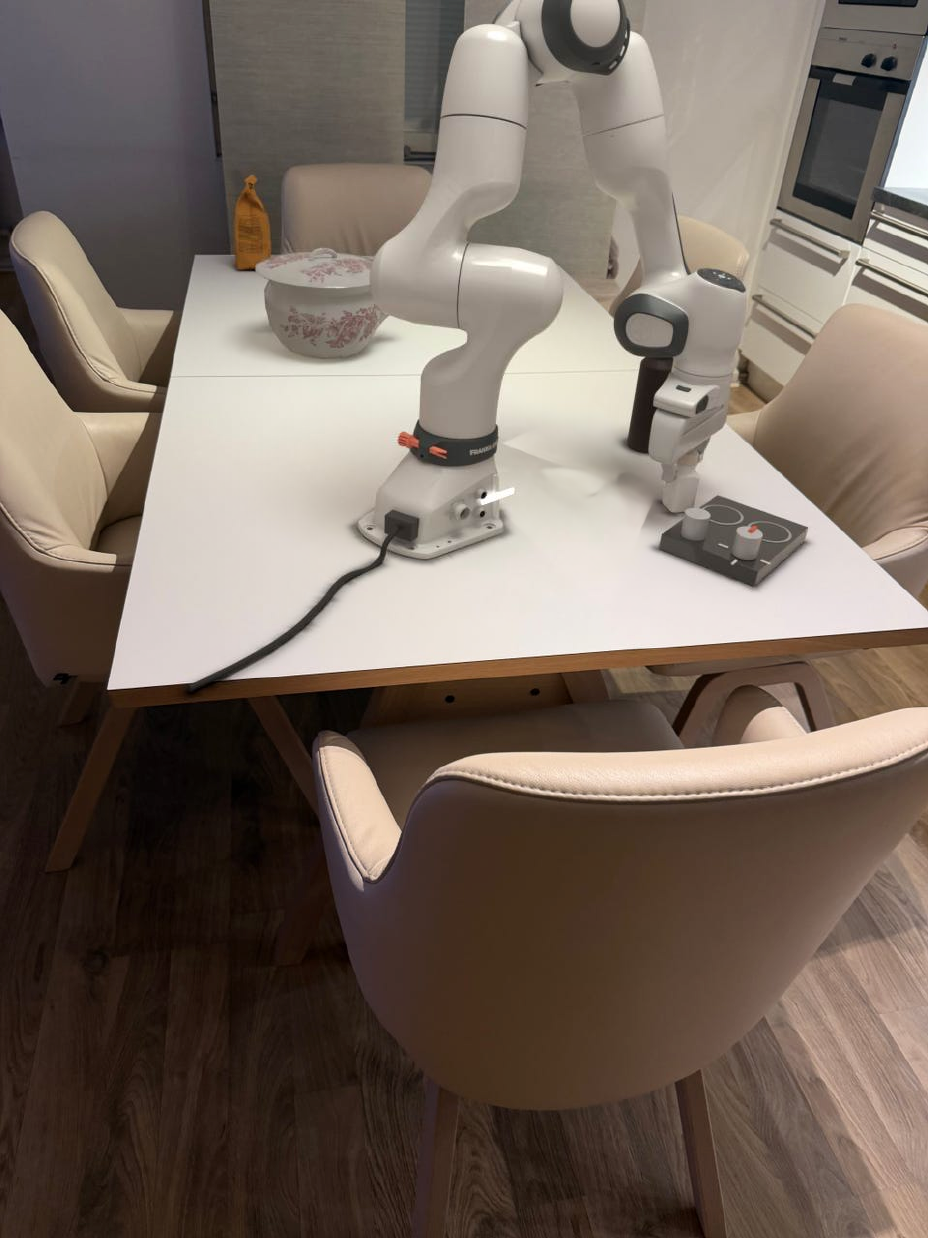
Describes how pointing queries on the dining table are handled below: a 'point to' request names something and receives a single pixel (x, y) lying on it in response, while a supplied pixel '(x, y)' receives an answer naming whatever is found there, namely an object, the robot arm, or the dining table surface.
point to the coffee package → (251, 229)
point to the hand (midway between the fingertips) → (681, 470)
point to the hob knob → (747, 543)
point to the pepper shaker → (683, 484)
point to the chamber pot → (320, 302)
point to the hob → (720, 541)
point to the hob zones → (726, 523)
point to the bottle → (646, 400)
